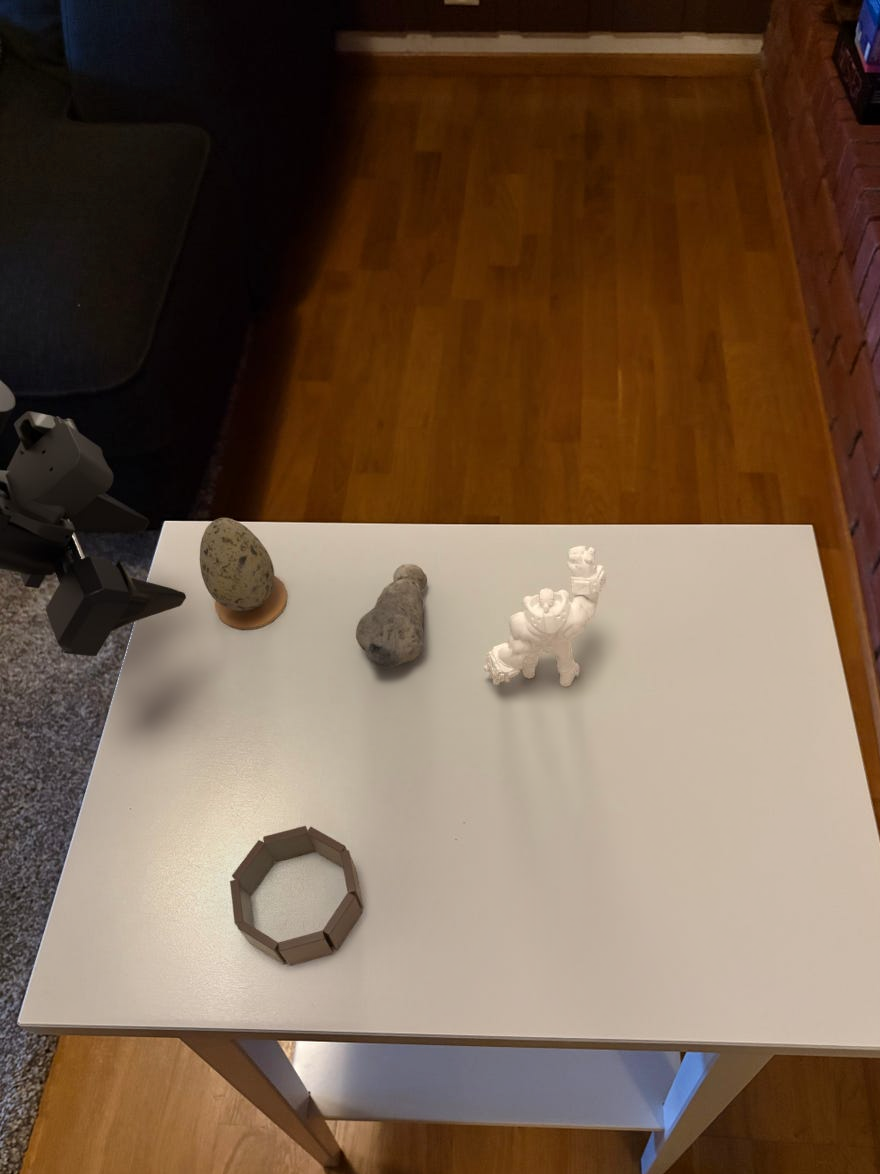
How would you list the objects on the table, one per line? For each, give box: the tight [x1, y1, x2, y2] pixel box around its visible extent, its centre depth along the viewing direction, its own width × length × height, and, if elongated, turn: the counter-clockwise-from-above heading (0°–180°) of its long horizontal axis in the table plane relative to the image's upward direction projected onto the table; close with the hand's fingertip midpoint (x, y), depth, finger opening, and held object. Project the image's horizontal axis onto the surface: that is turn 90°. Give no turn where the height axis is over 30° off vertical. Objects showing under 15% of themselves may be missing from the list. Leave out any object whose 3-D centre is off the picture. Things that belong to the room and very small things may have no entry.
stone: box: [355, 563, 428, 668], centre depth 77 cm, size 10×5×8 cm
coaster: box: [214, 575, 288, 631], centre depth 81 cm, size 6×6×1 cm
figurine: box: [483, 545, 607, 688], centre depth 71 cm, size 10×5×12 cm, turn 120°
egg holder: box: [229, 825, 364, 966], centre depth 64 cm, size 8×8×4 cm
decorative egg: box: [199, 517, 276, 611], centre depth 77 cm, size 6×6×10 cm
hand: (164, 561), depth 72 cm, fingers open, 9 cm apart
